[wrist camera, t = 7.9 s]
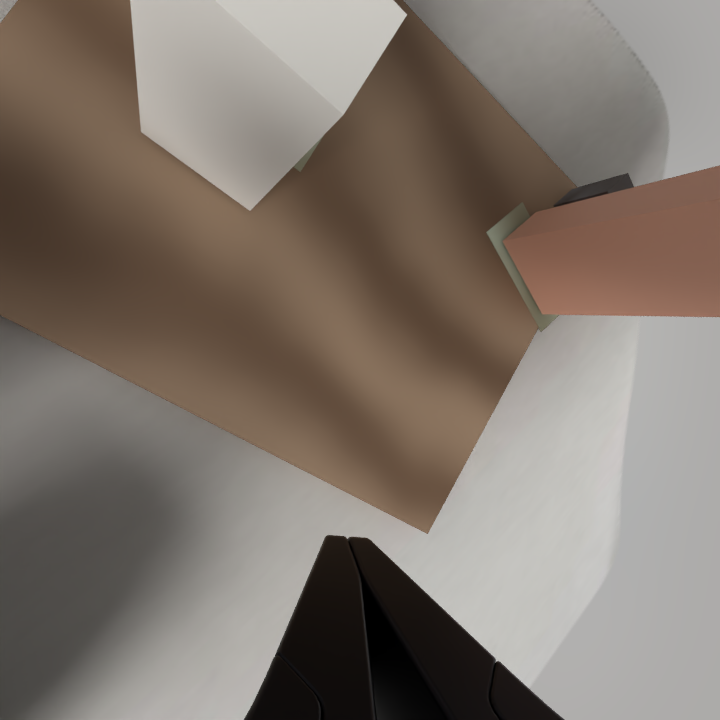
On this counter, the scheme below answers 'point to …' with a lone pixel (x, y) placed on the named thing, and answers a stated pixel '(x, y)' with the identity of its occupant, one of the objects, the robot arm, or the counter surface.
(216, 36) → the white rectangular block
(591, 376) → the counter surface
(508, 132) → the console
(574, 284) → the salmon pink rectangular block
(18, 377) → the counter surface
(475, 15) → the counter surface
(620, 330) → the counter surface
